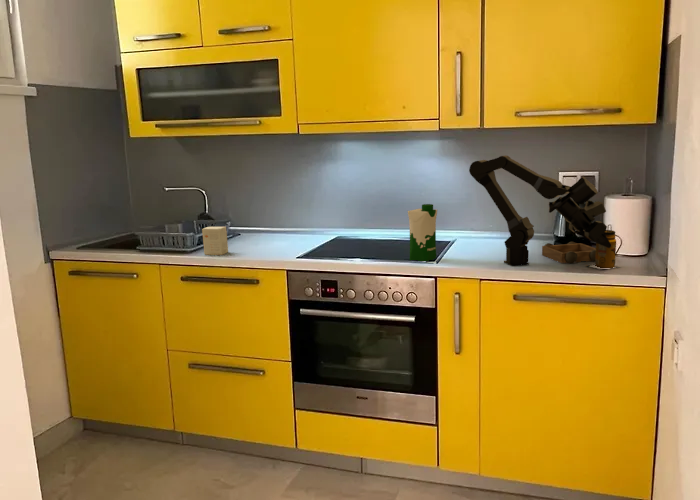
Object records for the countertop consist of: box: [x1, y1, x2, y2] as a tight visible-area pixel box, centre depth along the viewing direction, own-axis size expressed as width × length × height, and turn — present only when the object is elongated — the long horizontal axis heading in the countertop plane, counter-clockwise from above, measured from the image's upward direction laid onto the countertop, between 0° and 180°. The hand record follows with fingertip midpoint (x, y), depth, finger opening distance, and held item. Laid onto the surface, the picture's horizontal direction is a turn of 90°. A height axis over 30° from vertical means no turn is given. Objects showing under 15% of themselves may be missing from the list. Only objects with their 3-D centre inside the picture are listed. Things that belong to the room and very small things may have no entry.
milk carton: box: [407, 203, 438, 262], centre depth 222 cm, size 9×9×20 cm
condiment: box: [585, 229, 617, 268], centre depth 202 cm, size 7×8×12 cm
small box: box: [201, 226, 229, 256], centre depth 247 cm, size 8×6×10 cm
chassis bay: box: [541, 241, 596, 264], centre depth 218 cm, size 15×16×4 cm
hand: (604, 244), depth 202 cm, fingers open, 9 cm apart
